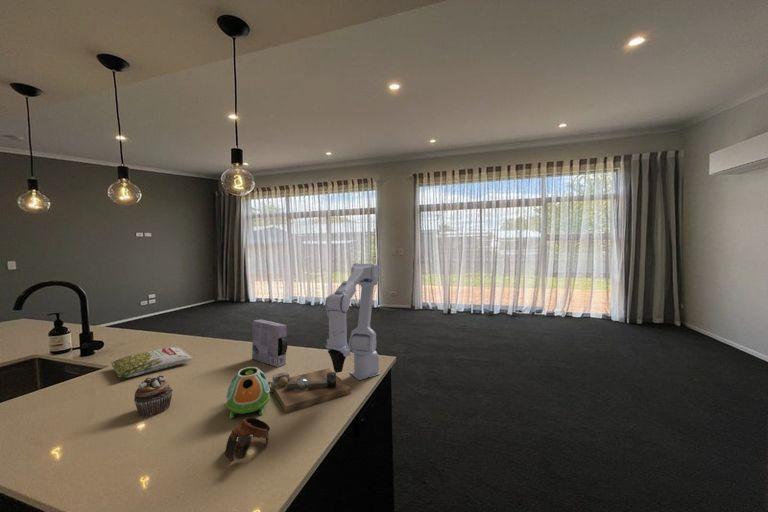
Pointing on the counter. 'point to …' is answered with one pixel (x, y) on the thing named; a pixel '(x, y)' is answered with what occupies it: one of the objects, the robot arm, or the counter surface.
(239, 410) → the turtle holder
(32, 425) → the counter surface
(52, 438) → the counter surface
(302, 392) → the board
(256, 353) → the cake pan box
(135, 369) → the frozen beans
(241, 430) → the brown curved open piece
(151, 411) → the cupcake
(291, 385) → the lever
